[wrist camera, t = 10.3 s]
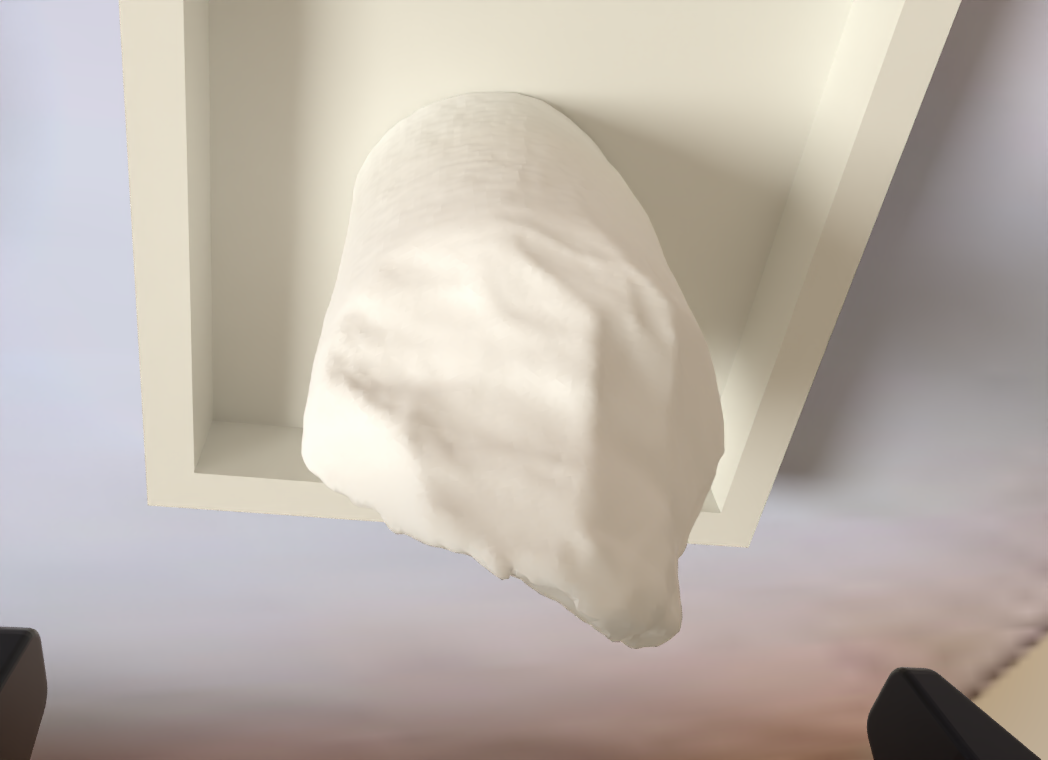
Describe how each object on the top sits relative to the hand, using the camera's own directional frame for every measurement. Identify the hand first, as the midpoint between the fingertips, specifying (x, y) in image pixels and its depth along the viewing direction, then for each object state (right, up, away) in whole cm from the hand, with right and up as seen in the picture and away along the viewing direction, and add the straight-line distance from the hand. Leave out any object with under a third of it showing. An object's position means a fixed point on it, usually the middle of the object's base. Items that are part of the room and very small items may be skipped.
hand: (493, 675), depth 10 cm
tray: (0, +7, +11) cm, 13 cm away
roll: (0, +7, +10) cm, 12 cm away
